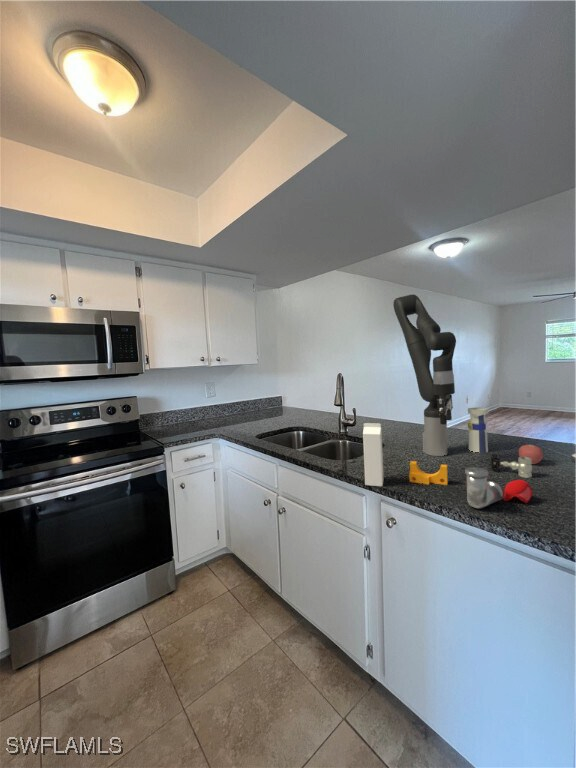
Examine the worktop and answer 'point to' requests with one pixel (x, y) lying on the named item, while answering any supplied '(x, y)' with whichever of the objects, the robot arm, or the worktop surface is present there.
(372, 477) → the milk
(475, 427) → the water bottle
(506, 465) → the valve
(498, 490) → the duct elbow
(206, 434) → the worktop surface
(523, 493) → the cap
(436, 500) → the worktop surface
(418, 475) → the pipe clamp
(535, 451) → the apple
